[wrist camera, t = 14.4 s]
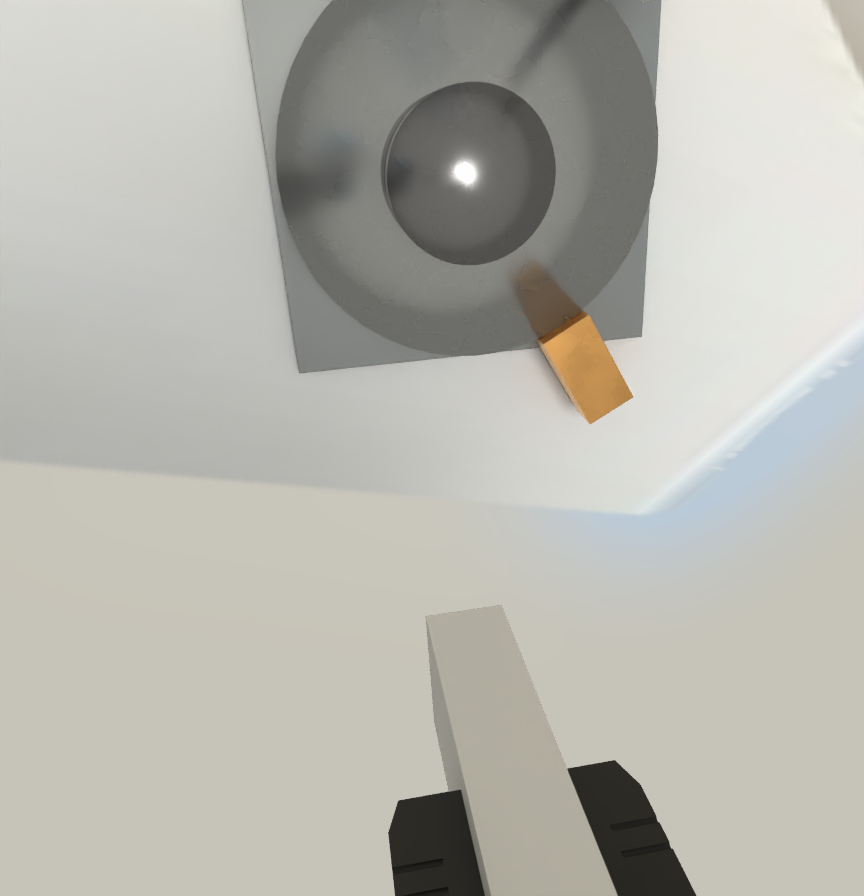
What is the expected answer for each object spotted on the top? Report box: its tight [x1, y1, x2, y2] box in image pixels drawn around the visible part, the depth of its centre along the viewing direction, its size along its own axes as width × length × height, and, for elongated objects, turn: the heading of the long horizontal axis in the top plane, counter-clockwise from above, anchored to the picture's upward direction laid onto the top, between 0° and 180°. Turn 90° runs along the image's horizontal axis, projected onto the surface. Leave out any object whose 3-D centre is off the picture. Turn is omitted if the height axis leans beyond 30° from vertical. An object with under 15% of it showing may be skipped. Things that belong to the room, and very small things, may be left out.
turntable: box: [275, 0, 658, 424], centre depth 38 cm, size 20×26×2 cm
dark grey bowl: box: [381, 82, 556, 265], centre depth 35 cm, size 8×8×4 cm
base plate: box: [242, 0, 661, 373], centre depth 38 cm, size 21×21×1 cm
